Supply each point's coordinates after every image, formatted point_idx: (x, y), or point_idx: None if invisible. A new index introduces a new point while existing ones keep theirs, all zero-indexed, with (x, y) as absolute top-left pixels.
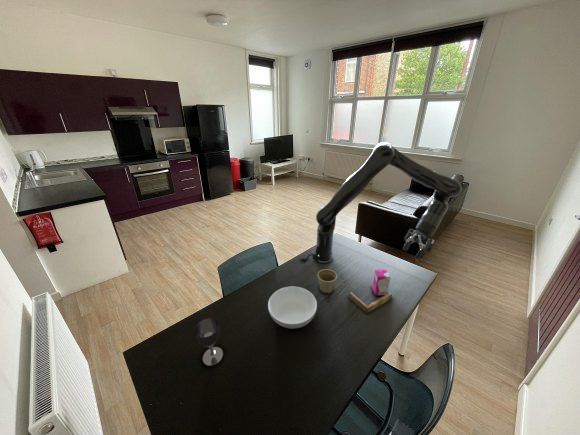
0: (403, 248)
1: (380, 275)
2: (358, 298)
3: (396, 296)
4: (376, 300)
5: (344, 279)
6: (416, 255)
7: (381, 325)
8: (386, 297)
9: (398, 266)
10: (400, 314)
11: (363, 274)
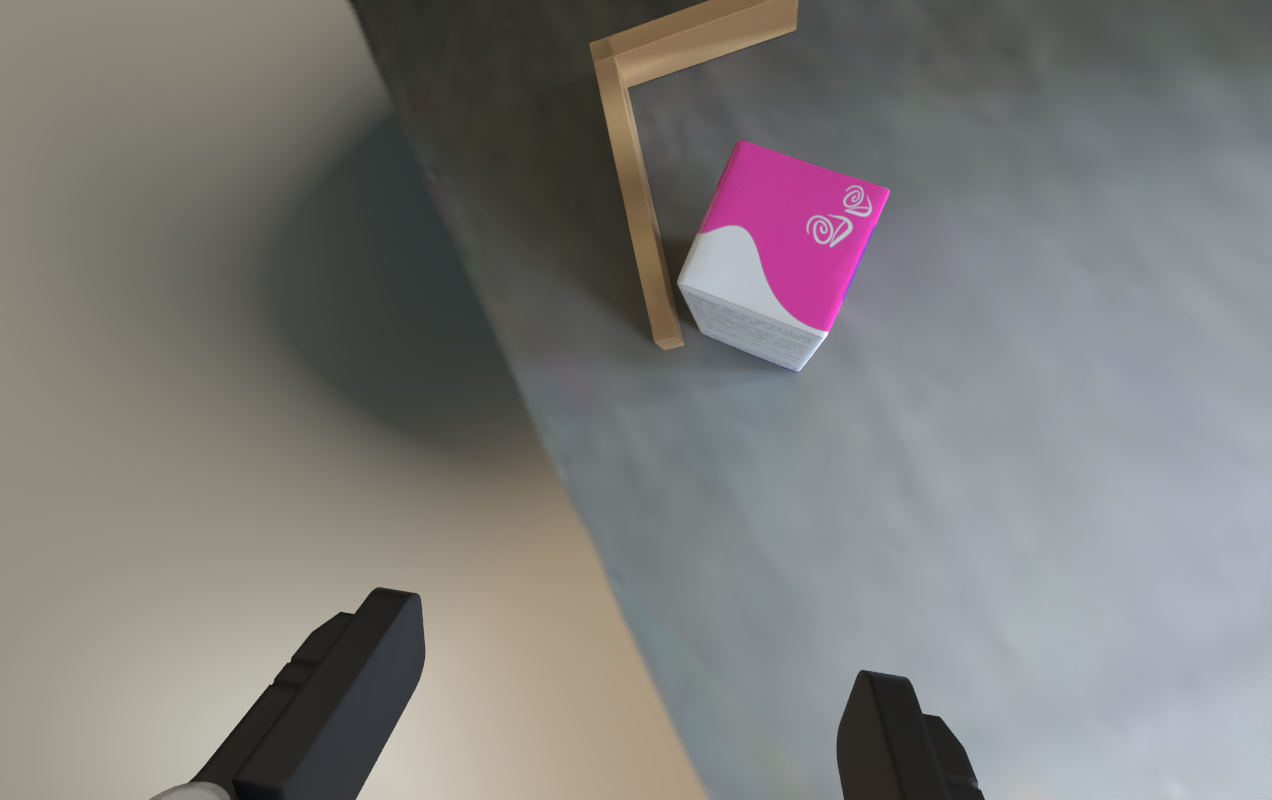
0: (893, 692)
1: (744, 177)
2: (708, 17)
3: (672, 414)
4: (636, 159)
5: (1053, 69)
6: (366, 625)
7: (486, 123)
8: (637, 265)
9: (1068, 791)
10: (514, 312)
11: (1065, 305)
